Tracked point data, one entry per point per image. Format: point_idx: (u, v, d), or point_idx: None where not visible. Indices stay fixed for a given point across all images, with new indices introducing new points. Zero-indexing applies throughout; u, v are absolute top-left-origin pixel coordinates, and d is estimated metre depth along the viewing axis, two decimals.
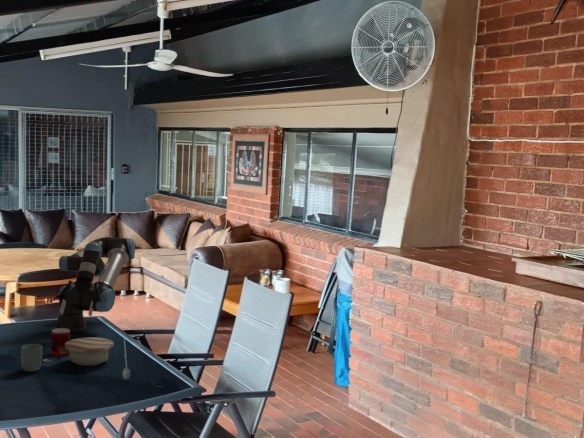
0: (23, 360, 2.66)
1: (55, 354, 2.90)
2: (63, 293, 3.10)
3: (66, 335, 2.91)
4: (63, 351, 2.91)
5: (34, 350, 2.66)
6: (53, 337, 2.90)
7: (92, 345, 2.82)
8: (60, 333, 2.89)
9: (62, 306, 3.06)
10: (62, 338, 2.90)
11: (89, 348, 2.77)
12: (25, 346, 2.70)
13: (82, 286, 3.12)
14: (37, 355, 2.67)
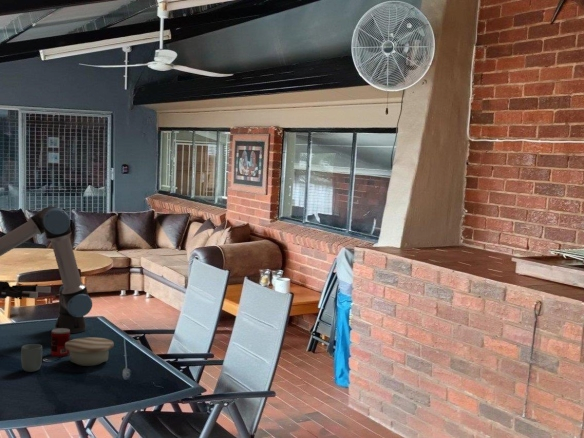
0: (23, 360, 2.66)
1: (55, 354, 2.90)
2: None
3: (66, 335, 2.91)
4: (63, 351, 2.91)
5: (34, 350, 2.66)
6: (53, 337, 2.90)
7: (92, 345, 2.82)
8: (60, 333, 2.89)
9: (43, 292, 3.05)
10: (62, 338, 2.90)
11: (89, 348, 2.77)
12: (25, 346, 2.70)
13: None
14: (37, 355, 2.67)
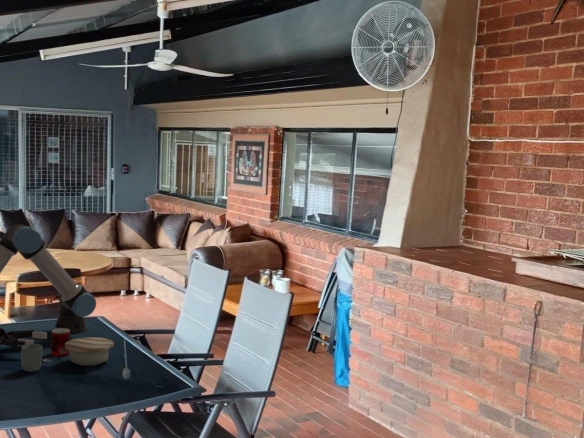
0: (23, 360, 2.66)
1: (55, 354, 2.90)
2: None
3: (66, 335, 2.91)
4: (63, 351, 2.91)
5: (34, 350, 2.66)
6: (53, 337, 2.90)
7: (92, 345, 2.82)
8: (60, 333, 2.89)
9: None
10: (62, 338, 2.90)
11: (89, 348, 2.77)
12: (25, 346, 2.70)
13: None
14: (37, 355, 2.67)
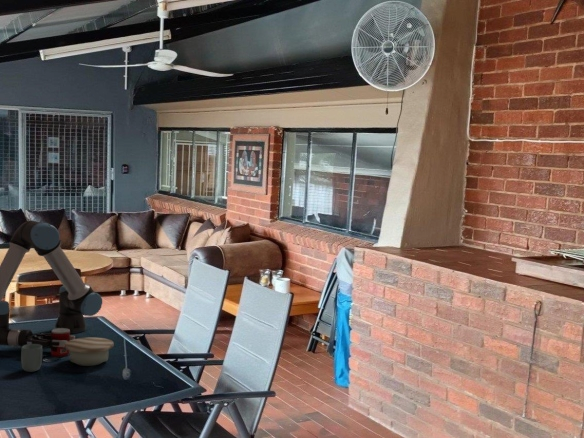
0: (23, 360, 2.66)
1: (55, 354, 2.90)
2: None
3: (66, 335, 2.91)
4: (63, 351, 2.91)
5: (34, 350, 2.66)
6: (53, 337, 2.90)
7: (92, 345, 2.82)
8: (60, 333, 2.89)
9: None
10: (62, 338, 2.90)
11: (89, 348, 2.77)
12: (25, 346, 2.70)
13: None
14: (37, 355, 2.67)
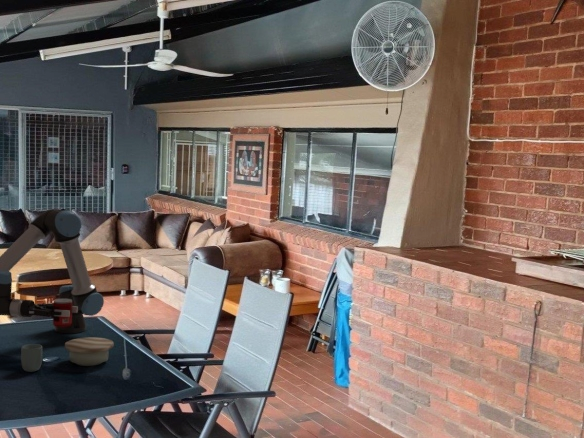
0: (23, 360, 2.66)
1: (57, 324, 2.87)
2: None
3: (69, 305, 2.89)
4: (65, 321, 2.88)
5: (34, 350, 2.66)
6: (55, 307, 2.87)
7: (92, 345, 2.82)
8: (62, 303, 2.87)
9: None
10: (64, 308, 2.87)
11: (89, 348, 2.77)
12: (25, 346, 2.70)
13: None
14: (37, 355, 2.67)
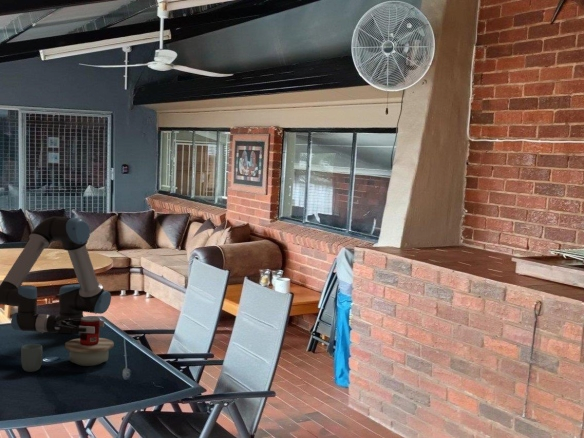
0: (23, 360, 2.66)
1: (85, 343, 2.80)
2: None
3: (96, 323, 2.82)
4: (92, 340, 2.81)
5: (34, 350, 2.66)
6: (83, 325, 2.80)
7: (92, 345, 2.82)
8: (90, 321, 2.80)
9: None
10: (92, 326, 2.80)
11: (89, 348, 2.77)
12: (25, 346, 2.70)
13: None
14: (37, 355, 2.67)
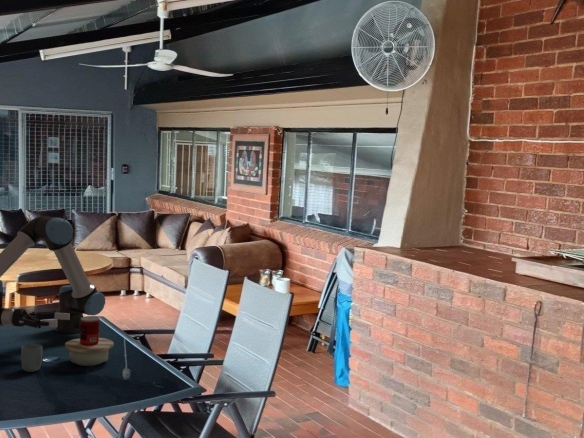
0: (23, 360, 2.66)
1: (84, 343, 2.80)
2: None
3: (96, 323, 2.82)
4: (92, 340, 2.81)
5: (34, 350, 2.66)
6: (82, 325, 2.80)
7: (92, 345, 2.82)
8: (90, 321, 2.80)
9: (62, 319, 2.92)
10: (91, 326, 2.80)
11: (89, 348, 2.77)
12: (25, 346, 2.70)
13: None
14: (37, 355, 2.67)
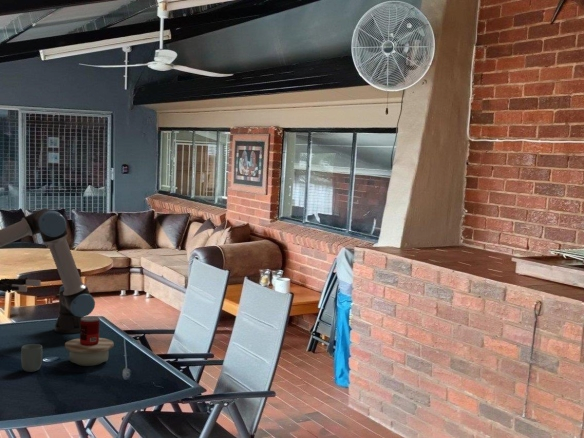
0: (23, 360, 2.66)
1: (84, 343, 2.80)
2: None
3: (96, 323, 2.82)
4: (92, 340, 2.81)
5: (34, 350, 2.66)
6: (82, 325, 2.80)
7: (92, 345, 2.82)
8: (90, 321, 2.80)
9: (33, 285, 2.99)
10: (91, 326, 2.80)
11: (89, 348, 2.77)
12: (25, 346, 2.70)
13: None
14: (37, 355, 2.67)
